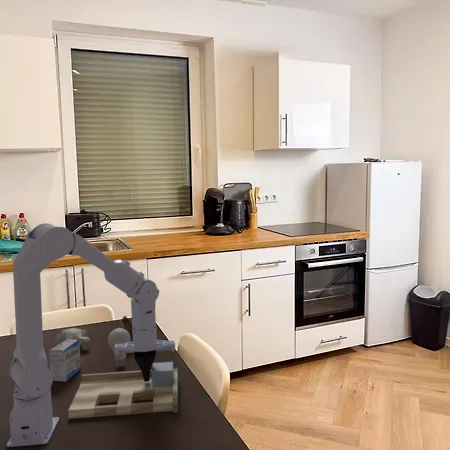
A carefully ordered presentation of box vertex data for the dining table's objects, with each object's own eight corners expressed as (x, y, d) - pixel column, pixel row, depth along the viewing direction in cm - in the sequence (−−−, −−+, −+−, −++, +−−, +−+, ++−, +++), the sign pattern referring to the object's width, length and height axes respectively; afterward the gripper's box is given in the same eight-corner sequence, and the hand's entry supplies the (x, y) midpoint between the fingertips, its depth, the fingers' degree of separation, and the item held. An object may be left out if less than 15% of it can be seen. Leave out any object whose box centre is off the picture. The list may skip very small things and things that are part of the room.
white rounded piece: (82, 323, 154) (92, 331, 141) (83, 338, 154) (94, 347, 141) (52, 329, 150) (60, 337, 136) (53, 344, 150) (62, 354, 137)
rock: (103, 334, 148) (108, 340, 139) (118, 310, 150) (123, 315, 141) (132, 349, 151) (138, 356, 142) (145, 326, 153) (153, 331, 144)
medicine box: (66, 382, 120) (64, 350, 119) (51, 381, 120) (48, 349, 119) (81, 369, 127) (79, 339, 126) (67, 368, 128) (64, 338, 127)
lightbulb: (109, 372, 124) (107, 333, 123) (109, 363, 130) (106, 326, 129) (132, 369, 126) (130, 331, 125) (131, 361, 132) (129, 324, 130)
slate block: (173, 386, 111) (172, 370, 111) (152, 387, 111) (151, 371, 111) (173, 376, 116) (172, 361, 116) (153, 378, 116) (152, 363, 115)
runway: (177, 412, 103) (177, 397, 103) (68, 420, 101) (67, 405, 100) (178, 380, 118) (177, 368, 118) (83, 387, 116) (82, 374, 116)
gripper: (174, 319, 116) (176, 370, 118) (116, 322, 115) (119, 374, 116) (173, 329, 109) (176, 383, 111) (112, 332, 108) (115, 387, 110)
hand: (146, 379), depth 113 cm, fingers closed
